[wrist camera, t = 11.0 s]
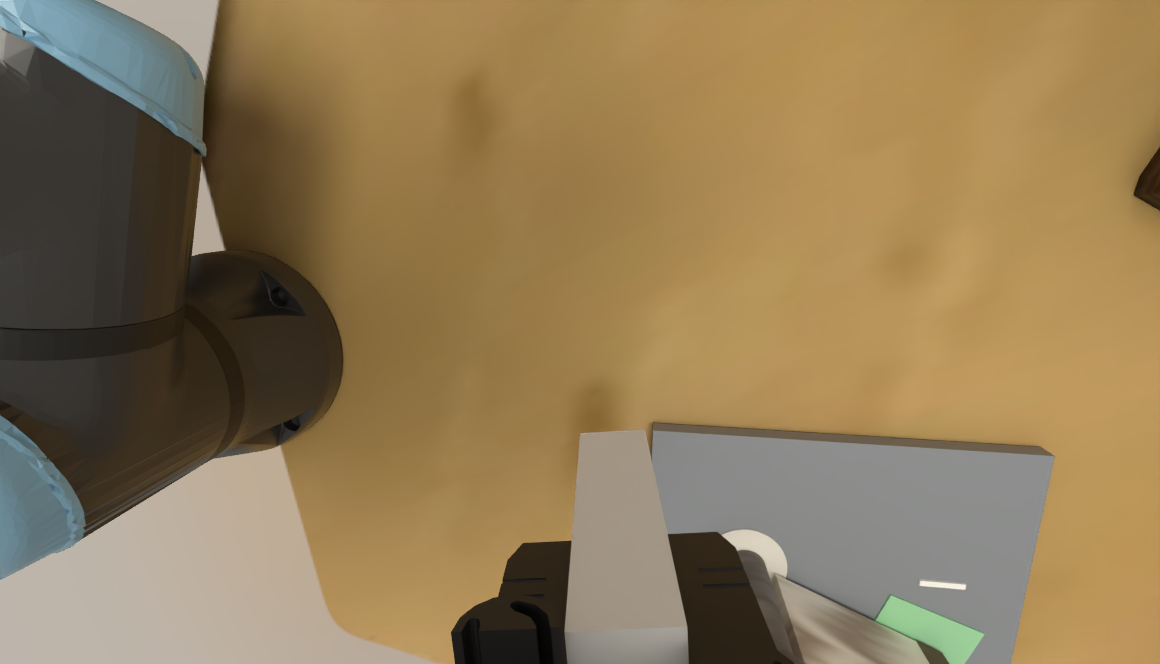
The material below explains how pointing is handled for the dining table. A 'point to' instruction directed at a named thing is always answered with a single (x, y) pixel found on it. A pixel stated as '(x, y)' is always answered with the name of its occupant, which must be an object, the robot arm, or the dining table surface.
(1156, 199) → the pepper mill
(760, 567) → the wooden panel with post
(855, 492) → the dial plate
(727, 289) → the dining table surface
